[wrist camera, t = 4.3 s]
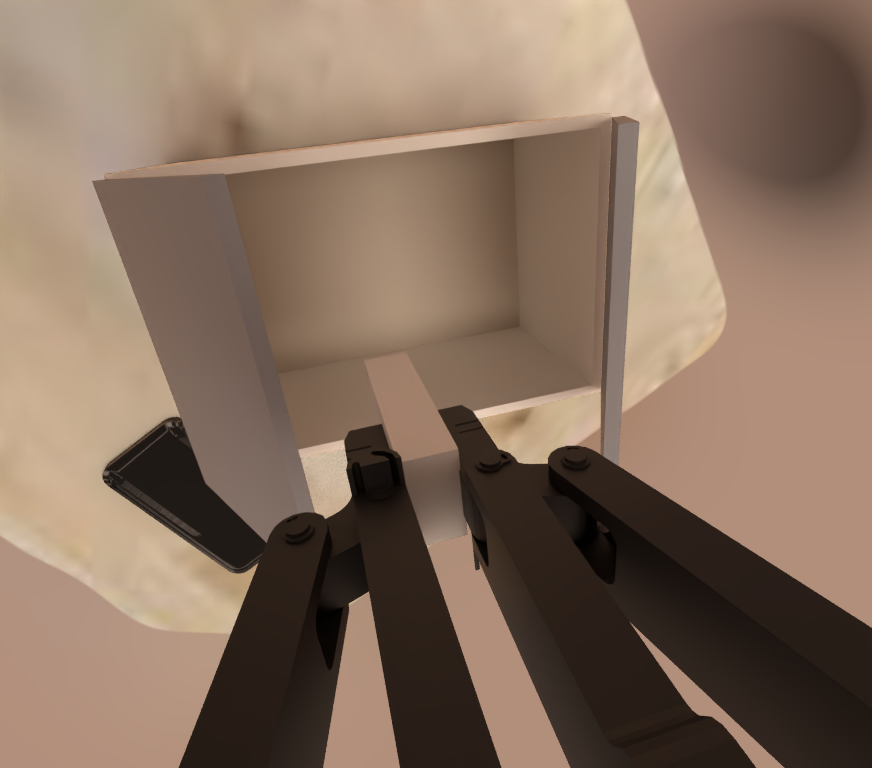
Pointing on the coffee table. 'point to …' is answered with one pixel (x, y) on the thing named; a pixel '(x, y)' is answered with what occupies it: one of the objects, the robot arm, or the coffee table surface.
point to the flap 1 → (210, 338)
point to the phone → (183, 496)
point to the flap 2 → (617, 278)
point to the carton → (427, 265)
